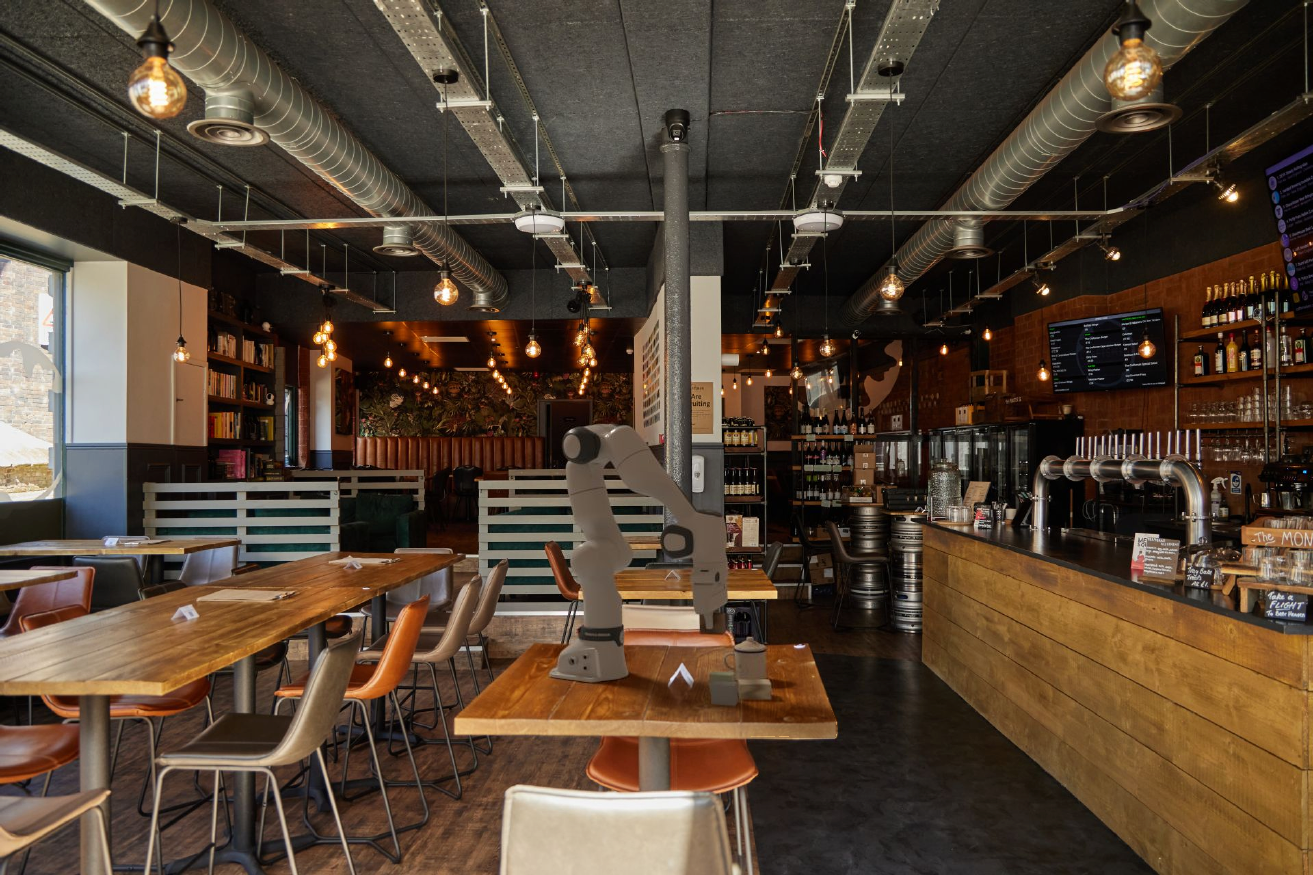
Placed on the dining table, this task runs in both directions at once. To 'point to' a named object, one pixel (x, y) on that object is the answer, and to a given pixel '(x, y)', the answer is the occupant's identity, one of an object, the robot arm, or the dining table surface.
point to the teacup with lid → (749, 660)
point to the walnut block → (718, 624)
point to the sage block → (721, 677)
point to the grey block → (724, 693)
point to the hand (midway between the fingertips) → (712, 626)
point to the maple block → (754, 689)
